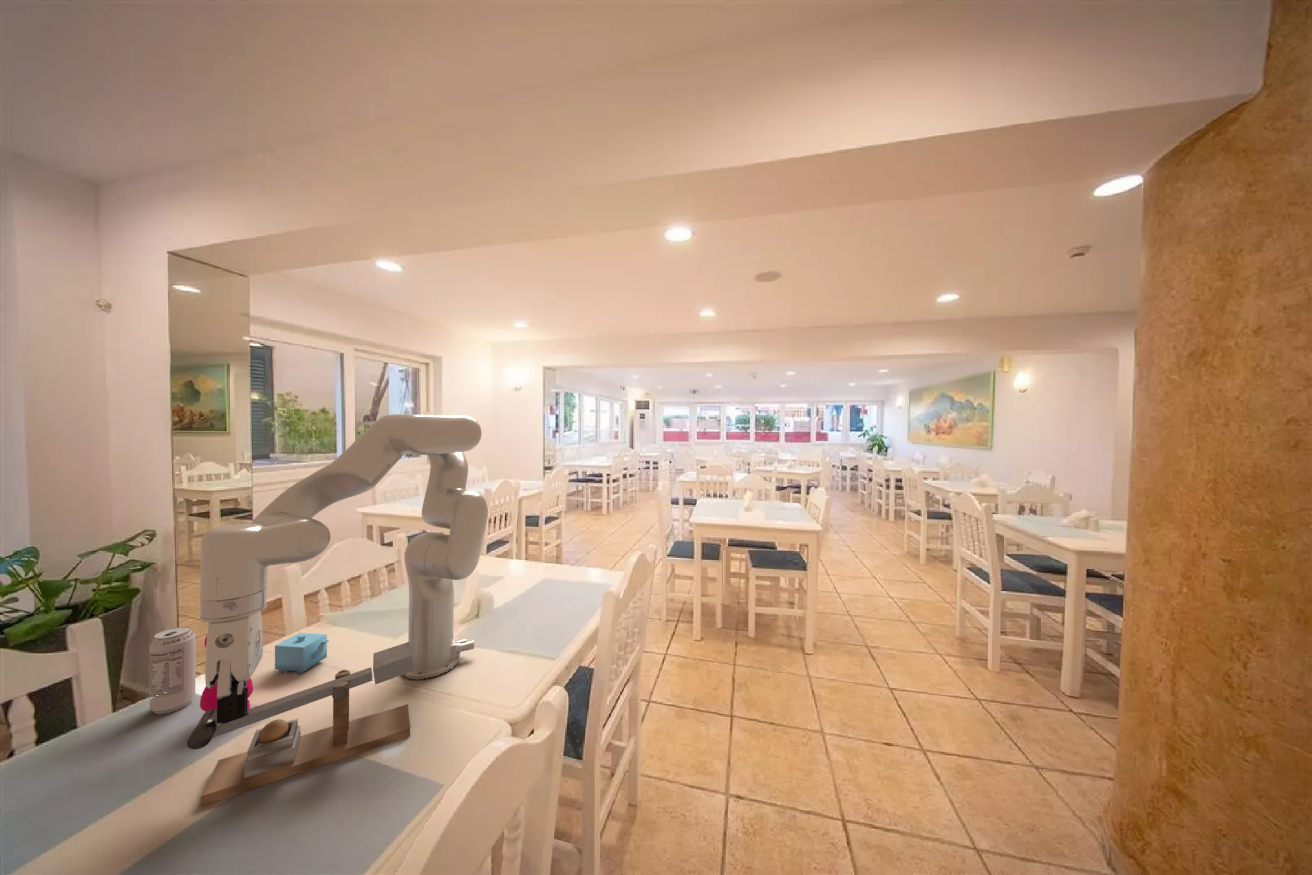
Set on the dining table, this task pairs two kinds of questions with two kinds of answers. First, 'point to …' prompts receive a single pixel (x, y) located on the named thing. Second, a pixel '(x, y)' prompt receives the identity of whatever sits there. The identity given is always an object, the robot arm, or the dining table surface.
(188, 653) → the energy drink can
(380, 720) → the stand
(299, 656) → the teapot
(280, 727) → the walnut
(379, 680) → the lever
